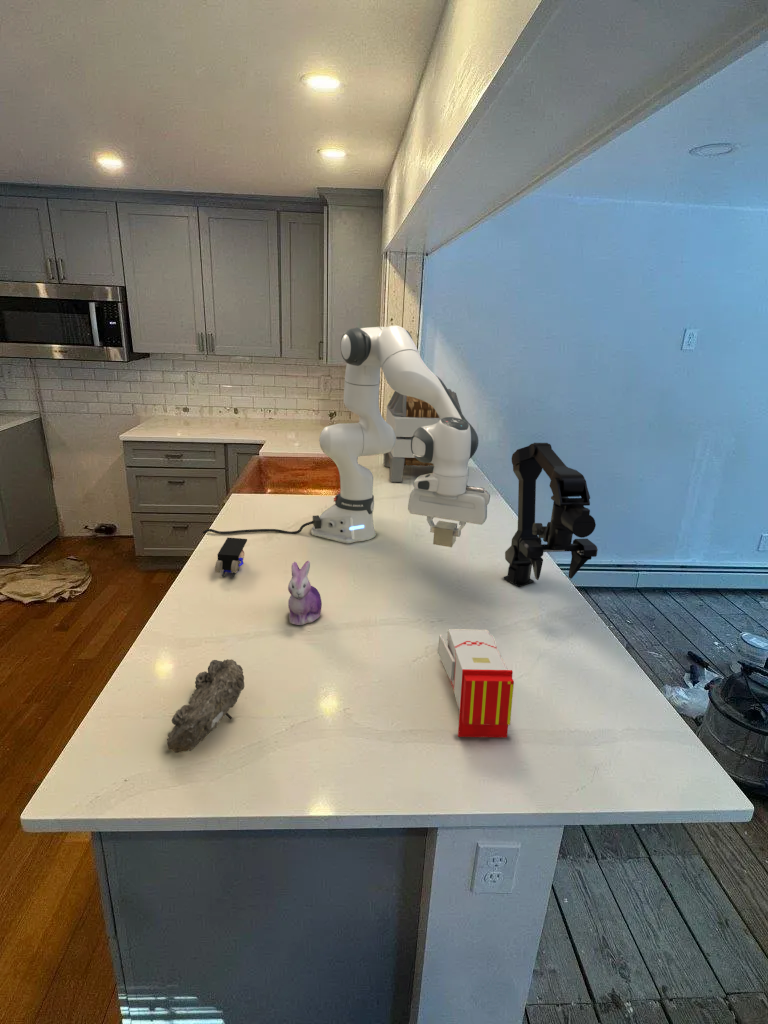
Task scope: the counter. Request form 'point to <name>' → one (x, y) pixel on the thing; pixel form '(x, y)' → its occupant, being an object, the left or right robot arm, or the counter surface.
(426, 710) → the counter surface
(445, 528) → the beige cube
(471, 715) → the toy
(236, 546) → the figurine character
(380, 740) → the counter surface
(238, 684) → the fossil
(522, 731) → the counter surface
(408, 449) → the transformer
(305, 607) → the figurine
